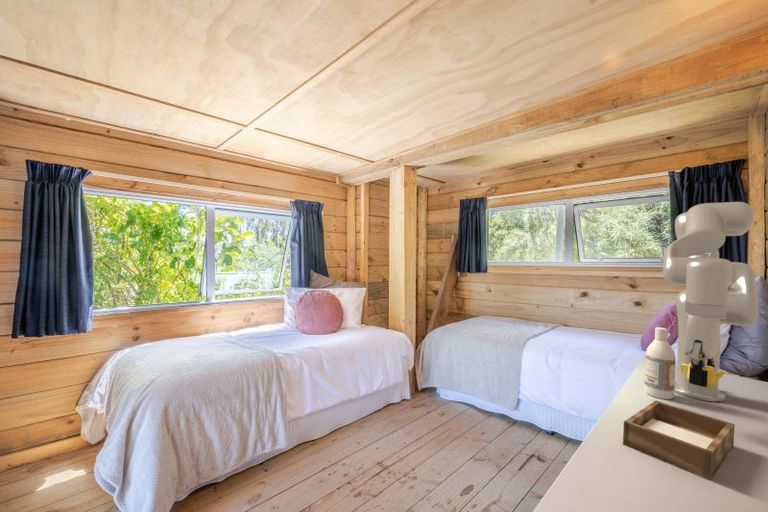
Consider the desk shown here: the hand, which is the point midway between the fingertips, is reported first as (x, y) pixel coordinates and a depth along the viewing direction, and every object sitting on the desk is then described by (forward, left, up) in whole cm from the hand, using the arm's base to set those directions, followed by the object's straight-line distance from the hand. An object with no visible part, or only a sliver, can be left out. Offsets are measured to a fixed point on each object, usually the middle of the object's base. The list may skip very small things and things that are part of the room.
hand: (701, 380), depth 86 cm
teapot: (0, 0, -1) cm, 1 cm away
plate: (+21, 0, -10) cm, 23 cm away
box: (+19, 0, -10) cm, 21 cm away
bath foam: (-12, -12, -11) cm, 20 cm away
